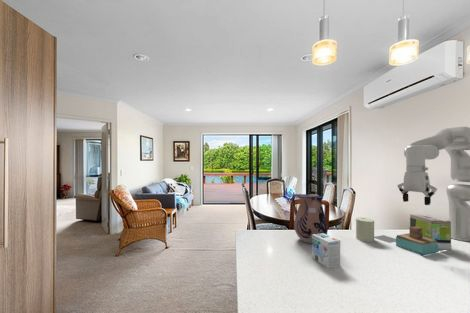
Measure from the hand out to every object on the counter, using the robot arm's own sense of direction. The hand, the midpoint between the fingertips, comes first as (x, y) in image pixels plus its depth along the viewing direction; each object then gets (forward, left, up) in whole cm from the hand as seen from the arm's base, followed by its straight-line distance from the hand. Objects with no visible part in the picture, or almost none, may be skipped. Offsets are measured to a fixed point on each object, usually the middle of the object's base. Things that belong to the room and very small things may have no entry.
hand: (416, 203), depth 114 cm
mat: (0, -15, -23) cm, 28 cm away
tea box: (-15, -2, -24) cm, 28 cm away
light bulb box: (+54, -5, -24) cm, 59 cm away
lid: (0, 0, -18) cm, 18 cm away
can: (+12, -19, -24) cm, 33 cm away
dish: (0, 0, -23) cm, 23 cm away
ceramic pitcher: (+43, -30, -24) cm, 58 cm away
